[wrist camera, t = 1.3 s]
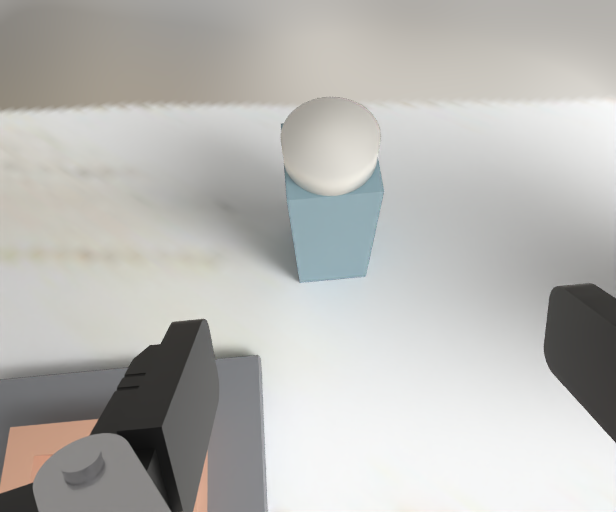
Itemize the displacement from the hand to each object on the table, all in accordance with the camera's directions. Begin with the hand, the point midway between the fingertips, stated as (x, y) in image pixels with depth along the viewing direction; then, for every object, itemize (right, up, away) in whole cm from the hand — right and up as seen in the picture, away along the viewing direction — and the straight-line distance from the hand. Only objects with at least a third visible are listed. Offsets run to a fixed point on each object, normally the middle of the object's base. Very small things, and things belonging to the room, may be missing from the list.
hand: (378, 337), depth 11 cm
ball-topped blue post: (0, +2, +20) cm, 20 cm away
